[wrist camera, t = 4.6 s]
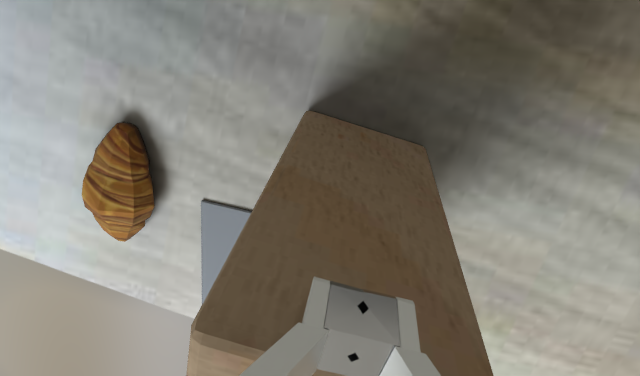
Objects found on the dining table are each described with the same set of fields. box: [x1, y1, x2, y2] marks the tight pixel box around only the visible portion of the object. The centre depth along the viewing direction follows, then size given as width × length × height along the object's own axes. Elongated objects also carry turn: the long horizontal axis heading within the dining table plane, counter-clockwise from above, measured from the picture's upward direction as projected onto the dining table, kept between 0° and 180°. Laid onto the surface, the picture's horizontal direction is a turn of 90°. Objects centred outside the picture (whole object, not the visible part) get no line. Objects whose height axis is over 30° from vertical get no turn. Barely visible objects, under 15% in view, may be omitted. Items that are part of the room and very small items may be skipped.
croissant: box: [82, 122, 155, 241], centre depth 31 cm, size 14×7×5 cm, turn 161°
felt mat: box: [201, 200, 252, 304], centre depth 37 cm, size 24×18×1 cm
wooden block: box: [186, 111, 493, 376], centre depth 21 cm, size 10×10×20 cm
